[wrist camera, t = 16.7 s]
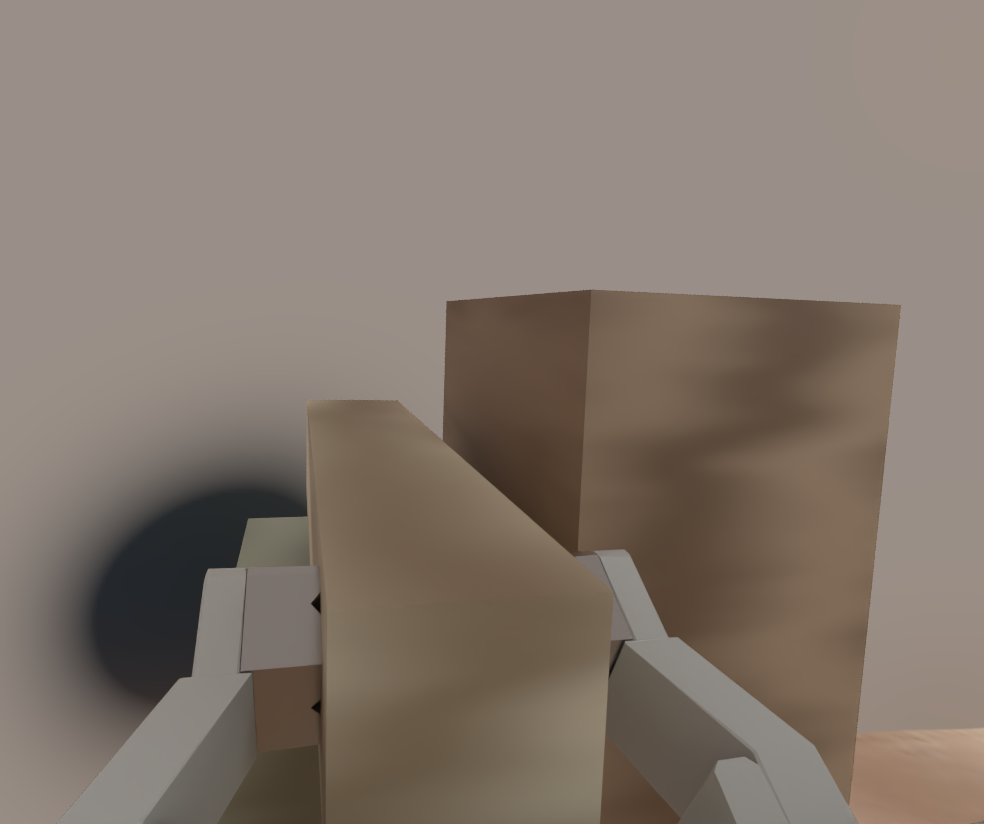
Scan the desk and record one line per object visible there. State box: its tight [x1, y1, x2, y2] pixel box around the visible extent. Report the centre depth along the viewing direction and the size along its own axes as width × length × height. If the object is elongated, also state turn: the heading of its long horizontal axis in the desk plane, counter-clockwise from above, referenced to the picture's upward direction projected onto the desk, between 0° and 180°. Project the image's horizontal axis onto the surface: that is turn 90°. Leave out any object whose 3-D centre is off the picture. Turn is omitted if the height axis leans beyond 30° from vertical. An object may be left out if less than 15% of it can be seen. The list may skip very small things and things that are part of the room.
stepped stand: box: [217, 290, 901, 824], centre depth 22 cm, size 14×14×26 cm
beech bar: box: [307, 400, 613, 824], centre depth 16 cm, size 3×18×3 cm, turn 15°
